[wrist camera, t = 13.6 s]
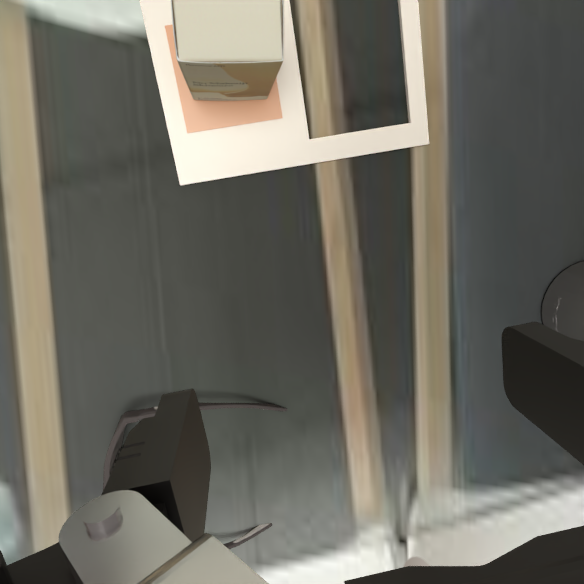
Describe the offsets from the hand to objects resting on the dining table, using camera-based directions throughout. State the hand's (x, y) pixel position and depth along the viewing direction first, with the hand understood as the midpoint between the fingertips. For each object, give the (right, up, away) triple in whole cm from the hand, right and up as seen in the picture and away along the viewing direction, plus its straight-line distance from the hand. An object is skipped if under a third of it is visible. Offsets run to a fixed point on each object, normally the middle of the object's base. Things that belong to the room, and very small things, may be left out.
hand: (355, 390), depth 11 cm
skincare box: (-7, +20, +25) cm, 33 cm away
